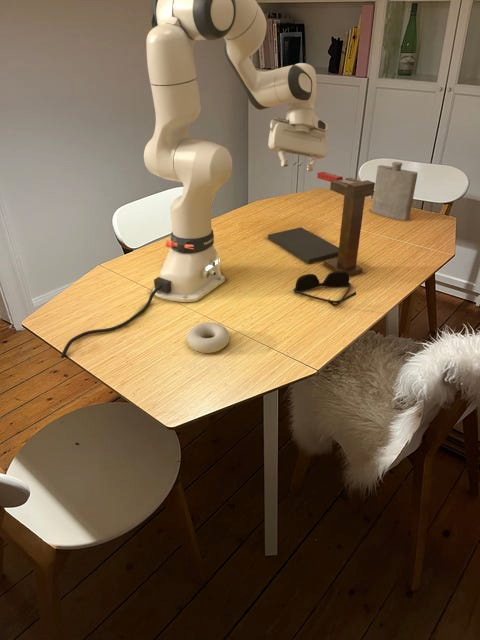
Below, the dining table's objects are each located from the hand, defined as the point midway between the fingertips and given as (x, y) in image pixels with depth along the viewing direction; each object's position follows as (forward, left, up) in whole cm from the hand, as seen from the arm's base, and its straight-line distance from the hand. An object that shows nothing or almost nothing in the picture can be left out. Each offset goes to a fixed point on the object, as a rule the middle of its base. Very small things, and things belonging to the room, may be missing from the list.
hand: (297, 168), depth 146 cm
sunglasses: (-33, -20, -25) cm, 46 cm away
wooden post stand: (-13, -19, -25) cm, 35 cm away
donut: (-63, +3, -25) cm, 68 cm away
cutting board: (-1, -4, -25) cm, 26 cm away
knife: (-10, -16, 0) cm, 19 cm away
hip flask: (+40, -27, -25) cm, 54 cm away
